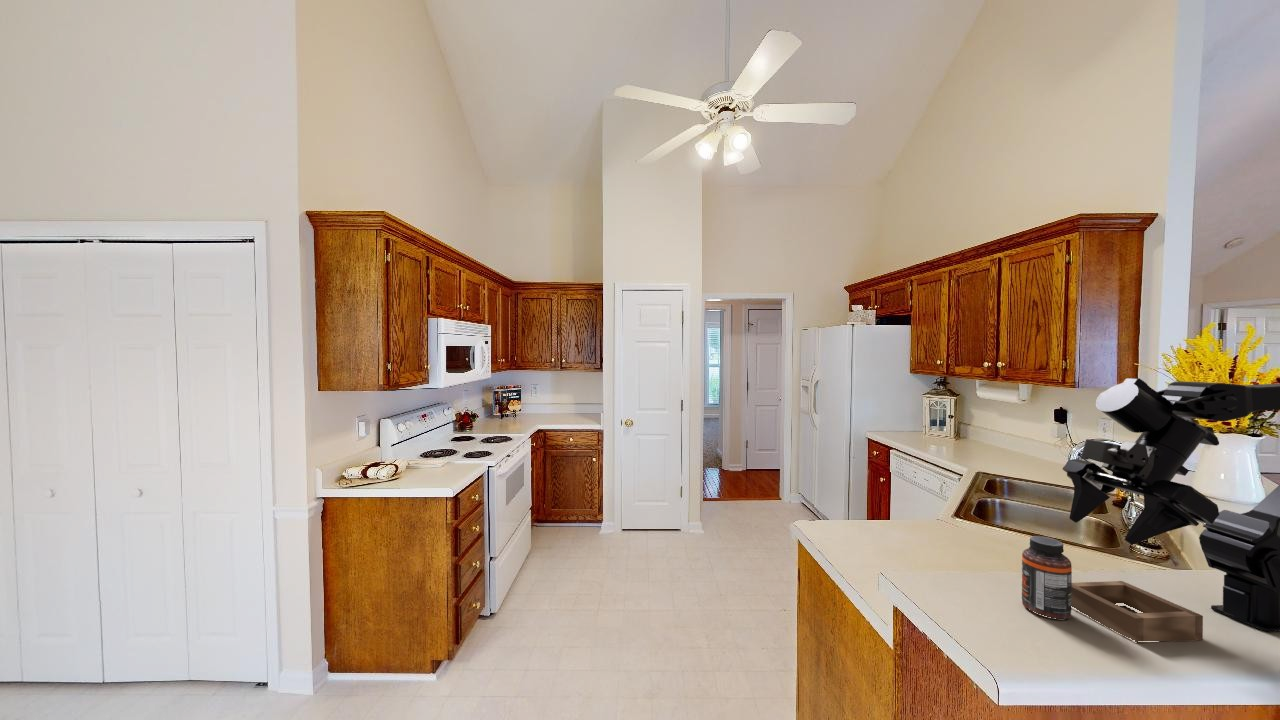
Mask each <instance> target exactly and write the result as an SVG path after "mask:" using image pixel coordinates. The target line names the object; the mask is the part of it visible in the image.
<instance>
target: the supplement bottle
mask: <svg viewBox="0 0 1280 720" xmlns="http://www.w3.org/2000/svg"><path fill="white" fill-rule="evenodd" d="M1063 553H1064V544H1063V542H1062V541H1061V540H1058V539H1055V538H1052V537H1048V536H1042V535H1032V536H1030V539H1029V547H1028V548H1024V550H1023V551H1022V554H1021V557H1022V558H1021V599H1022V600H1021V603H1022V605H1023V607H1024V608H1025V607H1026V608H1025V609H1027V608H1028V609H1030V610H1031V611H1034V612H1036V613H1038V614H1041V615H1044V616H1047V617H1051V618H1056V619H1065V620H1068V619H1070V617H1071V616H1072V609H1071V595H1072V594H1071V593H1072V592H1071V591H1072V583H1073V580H1072V578H1073V576H1072V574H1073V572H1072V571H1073V570H1072V569H1073V567H1072V562H1071V560H1070V558H1068V557H1067V556H1066V555H1065V554H1063ZM1028 609H1027V610H1028ZM1031 611H1030V612H1031Z"/></svg>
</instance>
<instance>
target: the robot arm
mask: <svg viewBox="0 0 1280 720" xmlns="http://www.w3.org/2000/svg"><path fill="white" fill-rule="evenodd" d="M1095 407H1096V408H1097V409H1098V411H1101V412H1102V413H1103V414H1105V415H1106V416H1108V417H1109V419H1112V420H1113V421H1115V423H1117V424H1118V425H1120V426H1122V427H1123V428H1125V429H1126V430H1128V431H1129V432H1131V433H1136V434H1137V433H1141V434H1140V435H1139V436H1138V437H1137V439H1136V440H1135V441H1134V442H1133V441H1128V440H1125V441H1123V442H1122V443H1121V445H1120V444H1116V443H1115V444H1114V443H1111V442H1110V443H1109V442H1105V441H1099V440H1094V439H1090V438H1089V439H1088V438H1087V439H1085V442H1084V446H1083V449H1082V452H1081V456H1080V458H1081V459H1078V458H1073V459H1072V458H1071V459H1069V460H1067V462H1066V463H1065V465H1064V466H1063V467H1062V470H1063V471H1064V472H1065V473H1066V477H1068V478H1069V479H1070V480H1071V481H1072V484H1073V488H1074V489H1073V497H1072V502H1071V508H1070V513H1069V520H1071V521H1072V522H1073V523H1076V524H1077V523H1079V522H1080V521H1082V520H1083V519H1085V518H1086V517H1087V516H1088V515H1091V513H1092V512H1094V511H1095V510H1096V509H1097V508H1099V507H1100V506H1101V505H1102V504H1104V503H1105V502H1106V501H1109V500H1110V497H1111V496H1110V495H1108V494H1109V493H1113V492H1115V490H1116V489H1118V490H1122V491H1125V492H1128V493H1131V494H1134V495H1139V496H1143V505H1144V507H1143V510H1141V512H1140V514H1139V515H1138V517H1137V518H1136V519H1135V521H1134V522H1133V524H1132V525H1131V526H1130V528H1129V529H1128V532H1127V533H1126V535H1125V536H1124V541H1125V542H1126V543H1128V544H1130V545H1136V544H1138V543H1140V542H1143V541H1145V540H1146V541H1147V540H1149V539H1151V538H1154V537H1156V536H1160V535H1162V534H1165V533H1167V532H1172V531H1175V530H1178V529H1182V528H1185V527H1188V526H1194V527H1197V526H1199V525H1200V523H1203V525H1202V527H1203V528H1204V529H1203V530H1202V532H1201V533H1200V534H1199V537H1198V539H1199V545H1200V547H1201V550H1202V552H1203V555H1204V557H1205V561H1206V563H1207V565H1208V567H1209V568H1211V569H1216V570H1218V571H1220V572H1223V573H1225V574H1223V586H1222V604H1218V605H1213V604H1212V605H1210V609H1211V610H1213V611H1214V612H1218V613H1220V614H1222V615H1224V616H1227V617H1229V618H1232V619H1234V620H1237V621H1238V622H1242V623H1244V624H1247V625H1249V626H1251V627H1254V628H1257V629H1258V630H1261V631H1262V632H1263V631H1264V632H1269V633H1270V632H1272V633H1273V632H1280V484H1278V486H1276V487H1275V488H1274V489H1273V490H1272V491H1271V492H1270V493H1269V494H1267V495H1266V497H1264V498H1263V499H1261V501H1260V502H1259V503H1257V505H1256V506H1254V507H1253V508H1252V509H1250V510H1249V511H1246V512H1243V513H1238V512H1235V511H1231V510H1228V509H1223V510H1221V511H1219V506H1218V504H1217V503H1216V502H1214V501H1212V500H1211V499H1210V498H1208V497H1207V496H1205V495H1204V494H1203V493H1201V492H1199V491H1198V490H1197V489H1195V488H1194V487H1193V486H1191V485H1189V484H1184V483H1179V482H1175V481H1172V480H1173V479H1174V477H1175V476H1176V475H1180V476H1185V477H1186V475H1187V474H1188V473H1189V472H1190V470H1189V469H1188V468H1187V467H1185V466H1184V464H1185V463H1186V462H1187V460H1188V459H1189V458H1190V457H1191V455H1192V454H1193V453H1194V451H1195V450H1196V449H1197V448H1198V446H1199V445H1201V444H1202V445H1211V446H1216V447H1217V446H1219V445H1220V441H1219V438H1218V437H1217V435H1216V434H1215V432H1214V428H1213V427H1212V426H1205V425H1201V424H1199V423H1197V422H1196V421H1195V420H1196V419H1197V420H1204V421H1205V420H1207V421H1214V422H1228V421H1233V420H1237V419H1242V418H1246V417H1248V416H1249V415H1251V414H1252V413H1255V412H1261V411H1279V410H1280V382H1279V383H1264V384H1263V383H1262V384H1246V385H1245V384H1234V383H1227V382H1226V383H1225V382H1204V381H1183V380H1182V381H1181V380H1178V381H1174V382H1170V383H1169V384H1168V385H1167V388H1165V389H1162V390H1159V391H1156V390H1155V389H1153V388H1152V387H1151V386H1150V385H1148V383H1147V382H1145V381H1144V380H1143V379H1141V378H1138V377H1137V378H1134V377H1127V378H1125V379H1124V381H1123V382H1122V383H1118V384H1116V385H1113V386H1111V387H1109V388H1108V389H1106V390H1104V391H1101V392H1100V394H1099V395H1098V397H1097V398H1096V401H1095ZM1192 419H1195V420H1192ZM1082 459H1085V460H1082ZM1086 460H1092V461H1095V462H1098V463H1102V465H1101V466H1100V465H1097V464H1096V463H1095V462H1090V461H1086ZM1101 467H1103V468H1101ZM1104 469H1105V470H1104ZM1106 470H1107V471H1110V472H1112V474H1110V473H1109V472H1107V471H1106Z"/></svg>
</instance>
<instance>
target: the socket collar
mask: <svg viewBox="0 0 1280 720" xmlns="http://www.w3.org/2000/svg"><path fill="white" fill-rule="evenodd" d="M1071 592H1072V593H1071V594H1072V595H1071V606H1072V607H1074V608H1076V609H1077V610H1079V611H1080V612H1082V613H1084V614H1086V615H1088V616H1089V617H1091V618H1092V619H1094V620H1096V621H1098V622H1100V623H1101V624H1103V625H1105V626H1106V627H1108V628H1111V629H1113V630H1114V631H1116V632H1118V633H1120V634H1122V635H1124V636H1126V637H1128V638H1131V639H1132V640H1135V642H1138V641H1174V642H1188V641H1189V642H1191V641H1192V642H1193V641H1203V640H1204V637H1203V635H1204V632H1203V631H1204V630H1203V629H1204V623H1203V622H1204V621H1203V620H1204V616H1203V614H1200V613H1197V612H1195V611H1194V610H1190V609H1188V608H1186V607H1184V606H1182V605H1179V604H1176V603H1174V602H1172V601H1170V600H1167V599H1165V598H1163V597H1161V596H1158V595H1156V594H1153V593H1151V592H1149V591H1146V590H1144V589H1142V588H1140V587H1137V586H1136V585H1133V584H1130V583H1129V582H1125V581H1124V580H1123V581H1122V580H1117V581H1115V580H1114V581H1113V580H1112V581H1110V580H1109V581H1089V582H1088V581H1086V582H1085V581H1082V582H1072V591H1071ZM1116 603H1124V604H1126V605H1128V606H1130V607H1133V608H1135V609H1137V610H1139V611H1141V612H1143V613H1136V612H1133V611H1131V610H1129V609H1127V608H1125V607H1123V606H1121V607H1120V606H1118V605H1115V604H1116ZM1101 624H1100V625H1101ZM1103 625H1102V626H1103ZM1106 627H1105V628H1106ZM1108 628H1107V629H1108ZM1114 631H1113V632H1114ZM1116 632H1115V633H1116Z"/></svg>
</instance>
